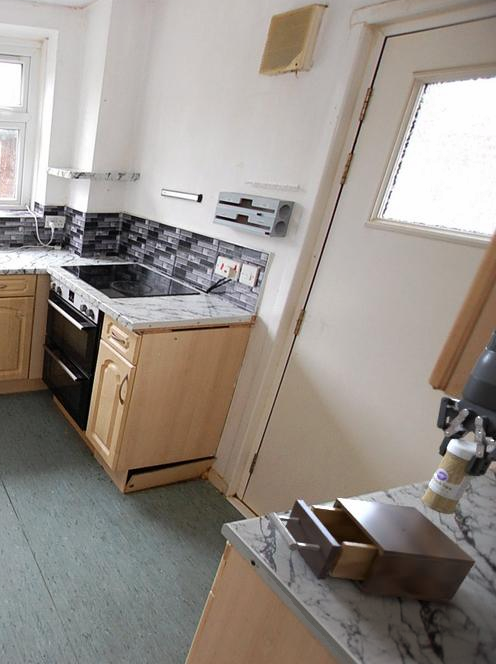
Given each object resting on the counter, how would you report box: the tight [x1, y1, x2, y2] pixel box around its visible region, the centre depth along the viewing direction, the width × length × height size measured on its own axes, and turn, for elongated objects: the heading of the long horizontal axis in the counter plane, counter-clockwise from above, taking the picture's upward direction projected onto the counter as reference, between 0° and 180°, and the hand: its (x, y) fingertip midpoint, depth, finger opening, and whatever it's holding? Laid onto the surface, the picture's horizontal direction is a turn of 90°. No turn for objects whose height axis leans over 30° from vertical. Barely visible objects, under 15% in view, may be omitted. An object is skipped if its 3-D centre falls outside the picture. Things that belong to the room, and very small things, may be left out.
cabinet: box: [332, 497, 477, 605], centre depth 77 cm, size 14×12×9 cm
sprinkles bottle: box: [421, 438, 477, 515], centre depth 82 cm, size 5×5×14 cm
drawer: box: [267, 499, 379, 581], centre depth 78 cm, size 18×10×7 cm, turn 86°
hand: (459, 464), depth 81 cm, fingers closed on sprinkles bottle, 4 cm apart
